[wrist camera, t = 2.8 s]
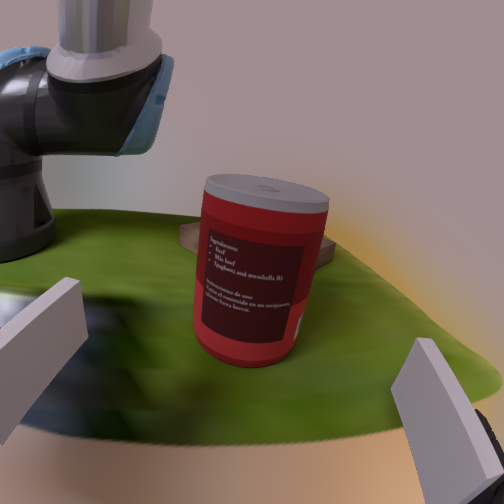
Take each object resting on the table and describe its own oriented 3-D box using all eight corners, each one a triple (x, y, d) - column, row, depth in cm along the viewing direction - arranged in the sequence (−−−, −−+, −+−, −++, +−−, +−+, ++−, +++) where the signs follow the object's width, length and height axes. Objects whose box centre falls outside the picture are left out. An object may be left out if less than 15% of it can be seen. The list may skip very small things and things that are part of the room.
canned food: (262, 301, 27) (284, 178, 23) (315, 356, 21) (358, 205, 17) (179, 311, 24) (189, 170, 20) (215, 382, 17) (238, 197, 13)
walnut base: (178, 244, 37) (179, 225, 36) (251, 229, 47) (253, 213, 46) (268, 291, 29) (273, 267, 28) (331, 260, 39) (336, 242, 39)
